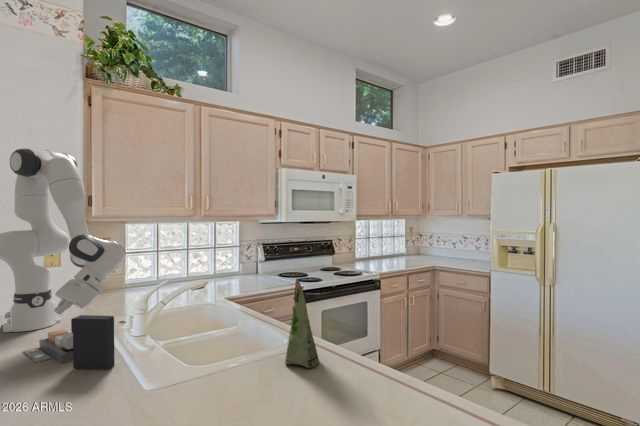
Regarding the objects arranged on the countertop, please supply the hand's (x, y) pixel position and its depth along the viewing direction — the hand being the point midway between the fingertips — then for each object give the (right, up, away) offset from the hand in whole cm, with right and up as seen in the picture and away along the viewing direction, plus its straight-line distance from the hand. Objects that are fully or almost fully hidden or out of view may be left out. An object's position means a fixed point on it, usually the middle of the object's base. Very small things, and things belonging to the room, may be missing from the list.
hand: (56, 312), depth 125 cm
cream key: (+6, -10, -4) cm, 13 cm away
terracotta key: (+1, -10, 0) cm, 10 cm away
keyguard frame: (+6, -11, -4) cm, 14 cm away
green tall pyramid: (+85, -11, -16) cm, 87 cm away
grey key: (+12, -8, -9) cm, 17 cm away
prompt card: (-1, -11, -8) cm, 14 cm away
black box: (+24, -12, -17) cm, 32 cm away
